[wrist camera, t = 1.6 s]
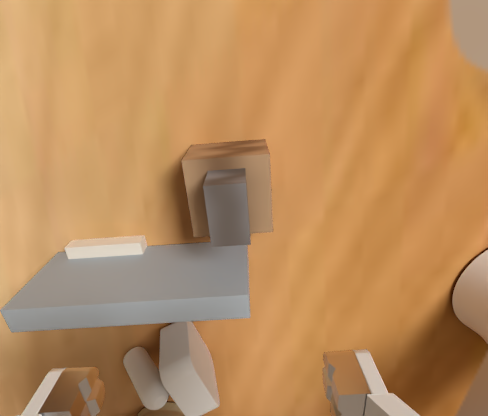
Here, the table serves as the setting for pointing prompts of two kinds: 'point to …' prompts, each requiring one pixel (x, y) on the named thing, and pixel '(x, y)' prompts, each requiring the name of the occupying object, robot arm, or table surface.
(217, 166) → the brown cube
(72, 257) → the wall board
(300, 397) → the table surface
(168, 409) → the planter bowl
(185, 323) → the wall hook
